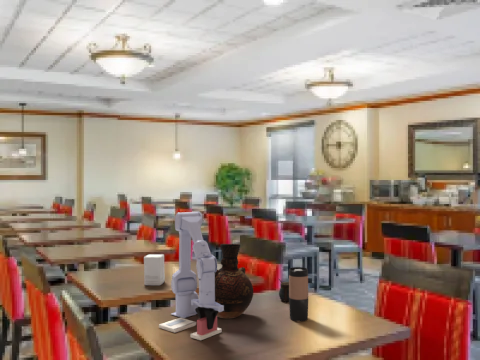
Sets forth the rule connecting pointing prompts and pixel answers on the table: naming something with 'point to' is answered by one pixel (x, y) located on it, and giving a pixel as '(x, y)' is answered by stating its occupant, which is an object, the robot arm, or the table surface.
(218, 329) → the stub
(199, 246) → the robot arm
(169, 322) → the white flat slab
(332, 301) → the table surface
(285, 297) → the mate gourd
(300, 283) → the travel mug
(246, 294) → the ceramic vessel
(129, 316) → the table surface
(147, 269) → the supplement box
